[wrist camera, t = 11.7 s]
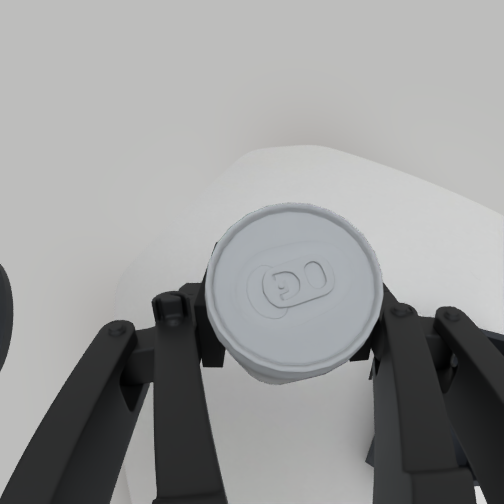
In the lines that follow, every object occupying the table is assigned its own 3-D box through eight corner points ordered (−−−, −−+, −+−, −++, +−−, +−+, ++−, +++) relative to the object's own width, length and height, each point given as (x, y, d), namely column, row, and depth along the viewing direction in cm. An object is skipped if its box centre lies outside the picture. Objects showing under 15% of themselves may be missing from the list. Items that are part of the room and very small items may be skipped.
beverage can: (227, 321, 19) (180, 226, 9) (300, 297, 20) (342, 180, 9) (251, 395, 18) (232, 406, 7) (327, 368, 18) (416, 333, 7)
